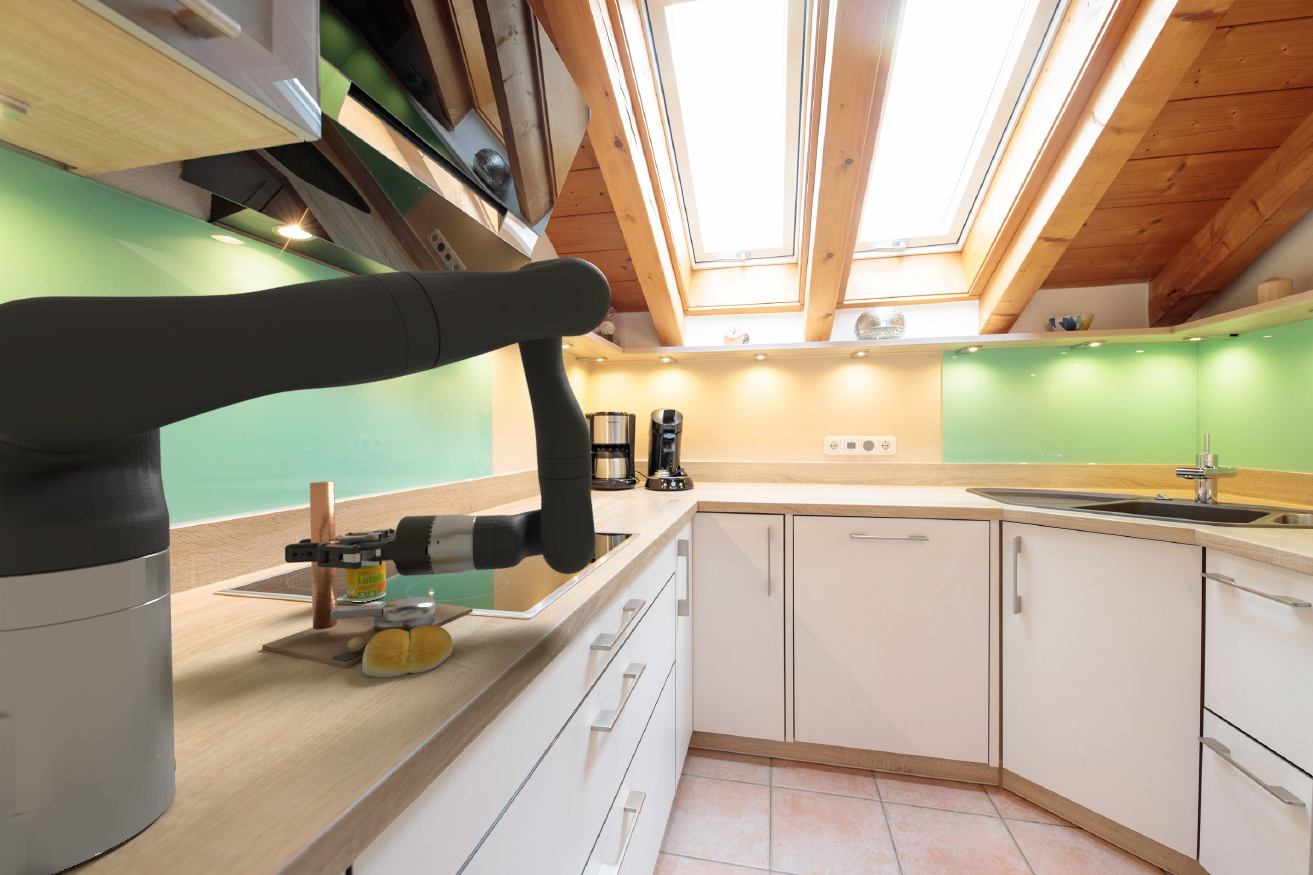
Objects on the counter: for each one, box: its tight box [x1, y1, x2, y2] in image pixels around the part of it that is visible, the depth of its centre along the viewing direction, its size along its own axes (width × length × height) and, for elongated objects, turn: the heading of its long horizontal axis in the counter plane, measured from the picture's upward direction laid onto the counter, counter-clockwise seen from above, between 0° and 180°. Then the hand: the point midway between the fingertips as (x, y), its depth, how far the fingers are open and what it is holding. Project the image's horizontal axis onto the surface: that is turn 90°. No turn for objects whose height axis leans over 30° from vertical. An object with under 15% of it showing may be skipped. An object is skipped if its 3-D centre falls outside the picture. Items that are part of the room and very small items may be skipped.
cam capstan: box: [309, 480, 436, 632], centre depth 66 cm, size 14×6×18 cm, turn 99°
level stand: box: [261, 597, 473, 669], centre depth 67 cm, size 19×14×2 cm
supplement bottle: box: [345, 561, 387, 602], centre depth 81 cm, size 5×5×10 cm
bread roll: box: [361, 625, 454, 679], centre depth 58 cm, size 8×9×4 cm
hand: (294, 550), depth 64 cm, fingers closed on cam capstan, 2 cm apart
